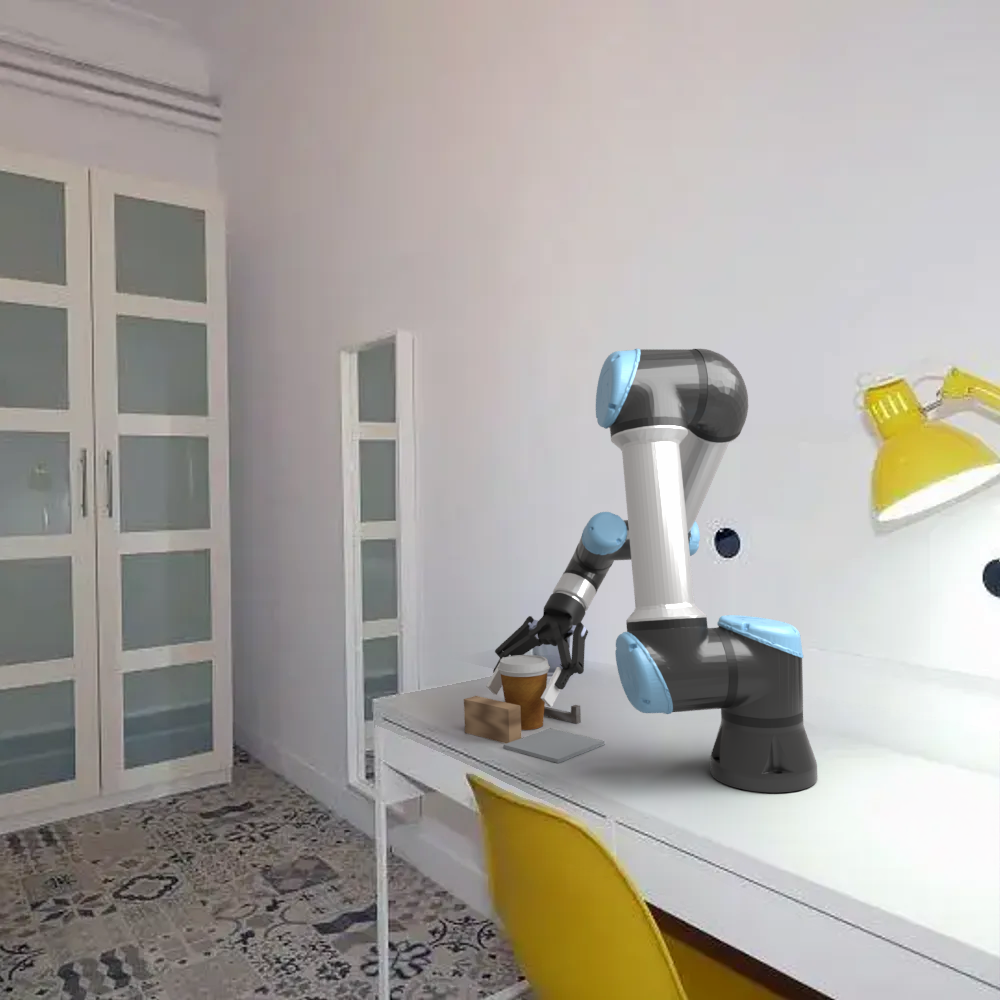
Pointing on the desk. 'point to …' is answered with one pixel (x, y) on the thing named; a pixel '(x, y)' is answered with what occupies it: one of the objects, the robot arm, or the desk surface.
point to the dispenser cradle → (504, 718)
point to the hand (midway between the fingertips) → (517, 696)
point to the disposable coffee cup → (525, 686)
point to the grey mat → (554, 745)
